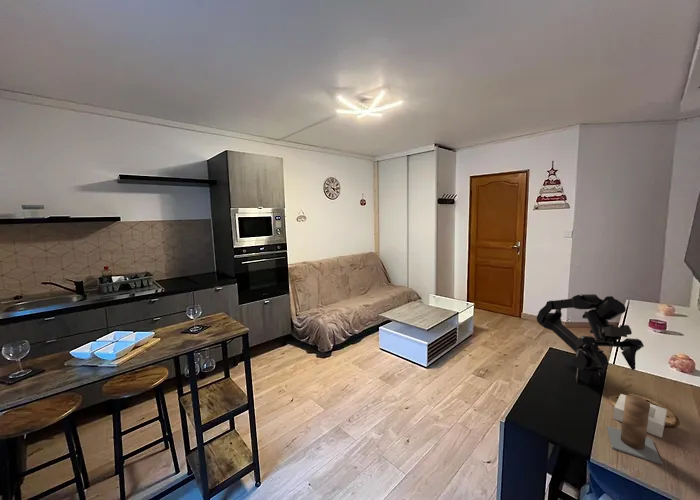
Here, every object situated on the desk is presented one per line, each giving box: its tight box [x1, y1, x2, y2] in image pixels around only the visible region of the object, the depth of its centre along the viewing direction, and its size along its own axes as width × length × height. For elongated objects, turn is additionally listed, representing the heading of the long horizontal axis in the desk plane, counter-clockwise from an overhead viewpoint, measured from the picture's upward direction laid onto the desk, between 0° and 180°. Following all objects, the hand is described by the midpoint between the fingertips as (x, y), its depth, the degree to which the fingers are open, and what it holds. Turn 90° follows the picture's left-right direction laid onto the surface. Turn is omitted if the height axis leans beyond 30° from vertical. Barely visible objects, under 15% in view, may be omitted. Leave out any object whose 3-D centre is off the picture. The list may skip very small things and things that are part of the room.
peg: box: [621, 395, 651, 450], centre depth 85 cm, size 5×5×13 cm
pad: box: [606, 425, 663, 466], centre depth 86 cm, size 10×10×1 cm
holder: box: [612, 393, 668, 439], centre depth 96 cm, size 11×11×4 cm
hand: (618, 368), depth 101 cm, fingers open, 9 cm apart
